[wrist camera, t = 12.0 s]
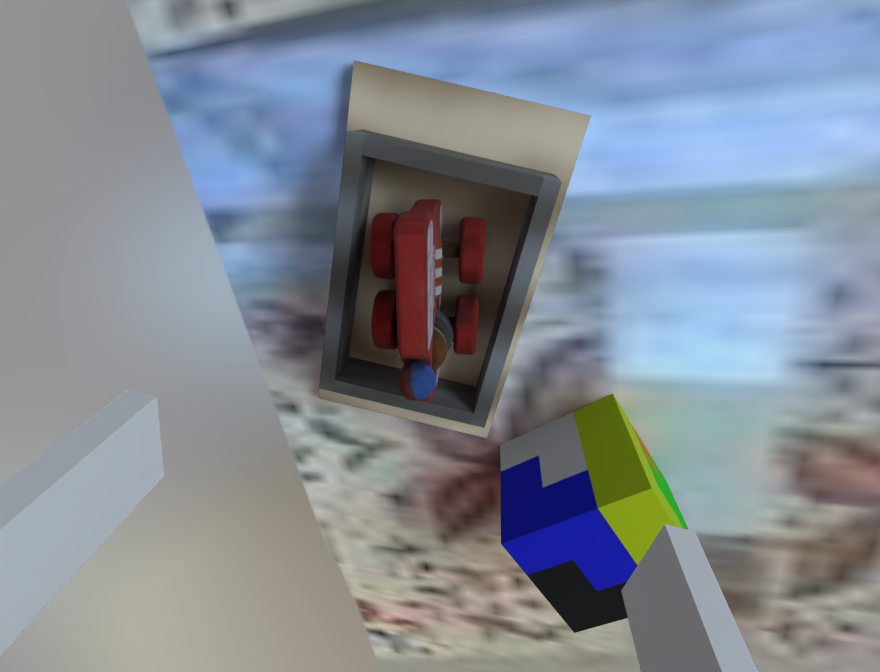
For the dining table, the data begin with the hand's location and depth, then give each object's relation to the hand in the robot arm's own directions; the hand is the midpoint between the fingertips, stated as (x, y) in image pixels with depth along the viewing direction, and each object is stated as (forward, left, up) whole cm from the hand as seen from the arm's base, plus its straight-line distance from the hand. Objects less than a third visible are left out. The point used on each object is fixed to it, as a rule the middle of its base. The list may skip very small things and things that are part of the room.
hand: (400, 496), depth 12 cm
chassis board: (+2, -2, -22) cm, 22 cm away
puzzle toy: (+15, +14, -23) cm, 30 cm away
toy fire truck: (+2, -2, -21) cm, 22 cm away
